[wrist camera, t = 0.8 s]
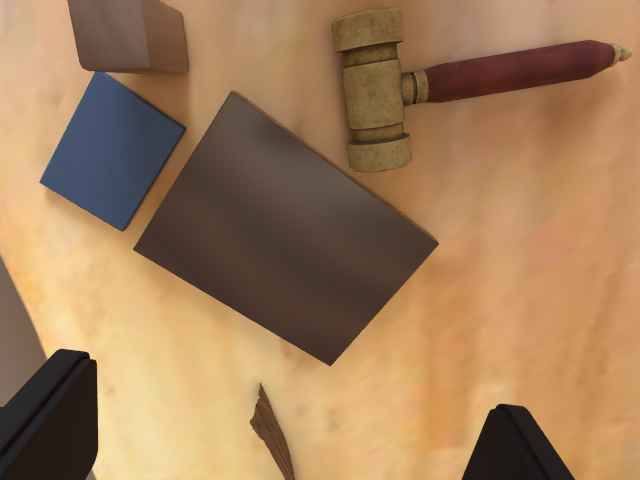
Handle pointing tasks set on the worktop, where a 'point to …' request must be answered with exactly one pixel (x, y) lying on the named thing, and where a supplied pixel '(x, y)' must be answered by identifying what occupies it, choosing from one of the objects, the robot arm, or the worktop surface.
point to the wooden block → (129, 36)
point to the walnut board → (282, 233)
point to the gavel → (435, 81)
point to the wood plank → (272, 434)
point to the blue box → (111, 151)
